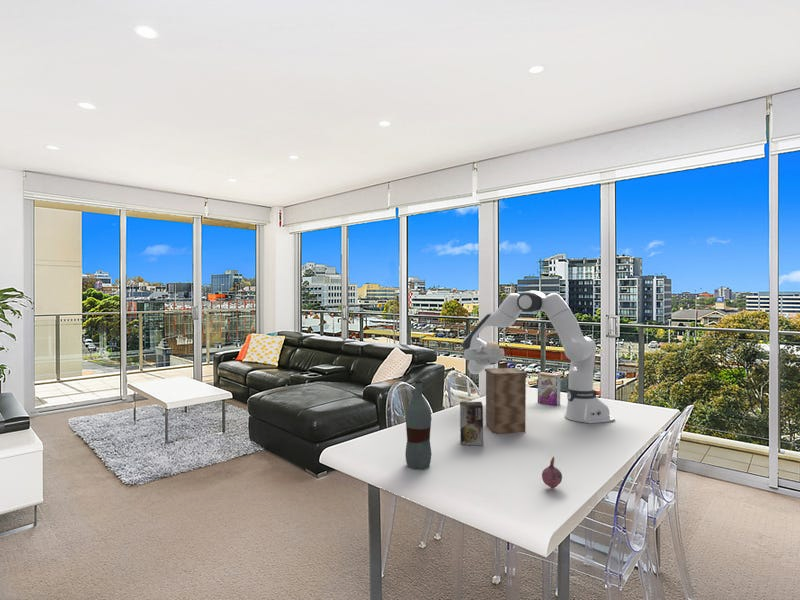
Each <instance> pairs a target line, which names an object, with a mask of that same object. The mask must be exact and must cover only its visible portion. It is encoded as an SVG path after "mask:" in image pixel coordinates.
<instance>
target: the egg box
mask: <svg viewBox="0 0 800 600" xmlns="http://www.w3.org/2000/svg"><path fill="white" fill-rule="evenodd" d="M481 347H483V348H484V350H483V352H485V353H487V354H490V355H500V348H501V347H500V344H499V343H498V342H495V341H492V340H488V341H487V342H486V345H481Z"/></svg>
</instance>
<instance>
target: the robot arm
mask: <svg viewBox="0 0 800 600" xmlns="http://www.w3.org/2000/svg"><path fill="white" fill-rule="evenodd" d="M522 312H524V313H537V312H538V313H539V312H544V313H545V315H546V317H547V318H548V320H549V321H550V323H551V325H552V326H553V328H554V330H555V332H556V334H557V336H558V337H559V340H560V342H561V345H562V348H563V351H564V355H565V357H566V358H567V359H568V360H570V364H569V370H568V387H567V392H566V393H567V394H566V395H567V396H566V397H567V405H566V410H565V414H564V418H565V419H567V420H569V421H570V420H571V421H574V422H581V423H585V424H597V423H606V422H607V423H609V422H615V421H616V419H615V417H614V416H612V415H611V414H610V409H609V407H608V405H607V404H605V403H604V402H603V401H602V400H600V399H599V398H598V397H599V396H601V394H602V392H600V391H599V390H595V389H594V369H595V361H596V351H597V344H596V343H595V341H594V340H593V339H592V338H590V337H588V336H584V334H583V332H582V329H581V327H580V325H579V324H580V323H579V321H578V319H577V318H576V316H575V315H574V313H573V311H572V310H571V308H570V307H569V305H568V304H567V302H566V301H565V300H564V299H563V297H562V296H561V295H560V294H558V293H557V292H556V293H555V292H554V293H553V292H551V293H549V294H546V293H545V292H543V291H540V290H526V291H523V292H521V293H520V294H519V293H516V292H510V293H509V294H508V295H507V296H506V297H505V298H504V299H503V301H502V302H501V303H500V304H499V306H498V308H497V309H496V310H495V311H494V312H489V313H487V314H486V315H485V316H484V317H483V318H482V319H481V320H480V321H479V323H477V325H476V326H475V327H474V328H473V329H472V331H471V332H470V333H469V334H468V335H467V336H465V337H464V338H463V340H462V342H461V347H462V350H463V351H464V354H463V355H462V359H464V360H465V361H468V363H467V370H468V372H470V374H472V375H478V374H481V372H483V371H485V369H486V367H488V366H492V365H496V364H498V363H499V361H501V360H502V359H503V358H504V356H505V350H504V348H502V347H499V348H500V355H490V354H487V353H485V352H483V350H484V348H483V347H481V345H486V343H487V342H486V341H484V340H482V339H481V338H479V337H478V336H479V335H480V334H481V333H482V331H483V330H484V329H485V328H487V327H494V328H495V327H497V328H500V329H501V328H503V329H505V328H509V327H511V326H513V325H514V324H515V323H516V321H517V320H518V318H519V316H520V314H521V313H522ZM597 396H598V397H597Z"/></svg>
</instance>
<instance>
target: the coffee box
mask: <svg viewBox="0 0 800 600" xmlns="http://www.w3.org/2000/svg"><path fill="white" fill-rule="evenodd" d="M483 410H484V406H483V403H482V401H459V427H460V428H459V431H460V434H459V438H460V439H459V441H460V442H459V443H460V445H461V446H484V411H483Z"/></svg>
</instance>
